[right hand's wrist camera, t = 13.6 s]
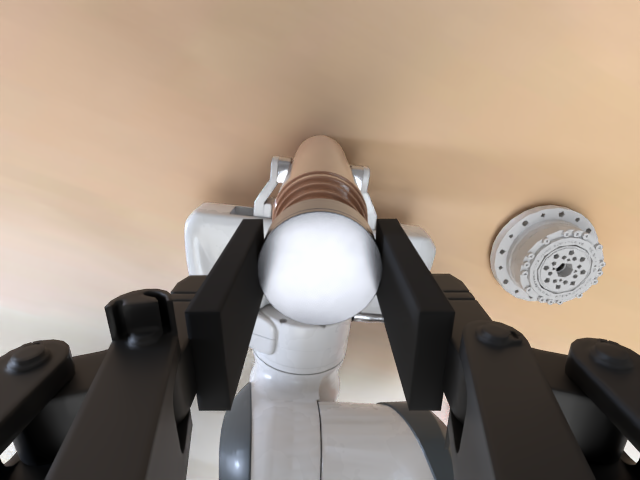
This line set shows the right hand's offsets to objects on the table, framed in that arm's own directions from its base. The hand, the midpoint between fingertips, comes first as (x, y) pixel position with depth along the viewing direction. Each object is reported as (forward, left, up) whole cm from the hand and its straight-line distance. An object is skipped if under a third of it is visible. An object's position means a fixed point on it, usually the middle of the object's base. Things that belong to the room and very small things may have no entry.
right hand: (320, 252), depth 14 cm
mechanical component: (-11, +21, -22) cm, 33 cm away
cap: (0, 0, +1) cm, 1 cm away
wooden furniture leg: (0, 0, -22) cm, 22 cm away
